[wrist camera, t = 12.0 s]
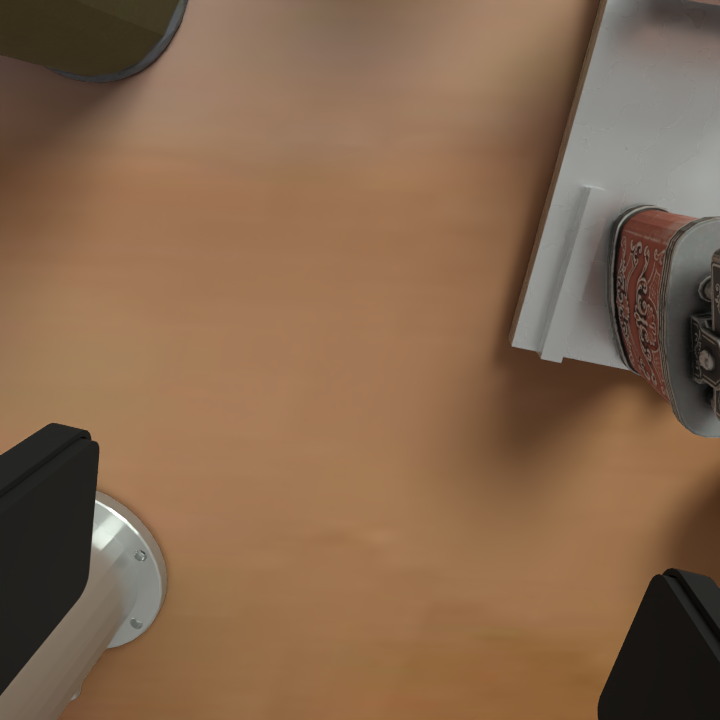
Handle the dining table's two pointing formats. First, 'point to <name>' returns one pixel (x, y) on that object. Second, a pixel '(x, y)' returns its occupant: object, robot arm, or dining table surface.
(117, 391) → the dining table surface
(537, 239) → the finger rail
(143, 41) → the canister
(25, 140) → the dining table surface
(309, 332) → the dining table surface
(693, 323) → the lighter
